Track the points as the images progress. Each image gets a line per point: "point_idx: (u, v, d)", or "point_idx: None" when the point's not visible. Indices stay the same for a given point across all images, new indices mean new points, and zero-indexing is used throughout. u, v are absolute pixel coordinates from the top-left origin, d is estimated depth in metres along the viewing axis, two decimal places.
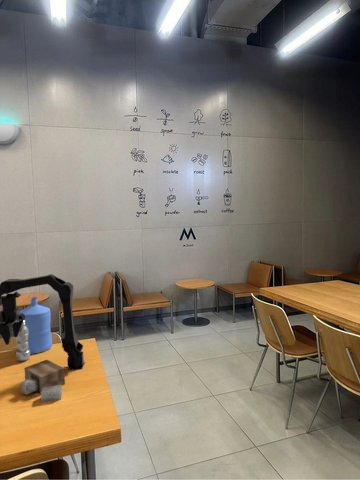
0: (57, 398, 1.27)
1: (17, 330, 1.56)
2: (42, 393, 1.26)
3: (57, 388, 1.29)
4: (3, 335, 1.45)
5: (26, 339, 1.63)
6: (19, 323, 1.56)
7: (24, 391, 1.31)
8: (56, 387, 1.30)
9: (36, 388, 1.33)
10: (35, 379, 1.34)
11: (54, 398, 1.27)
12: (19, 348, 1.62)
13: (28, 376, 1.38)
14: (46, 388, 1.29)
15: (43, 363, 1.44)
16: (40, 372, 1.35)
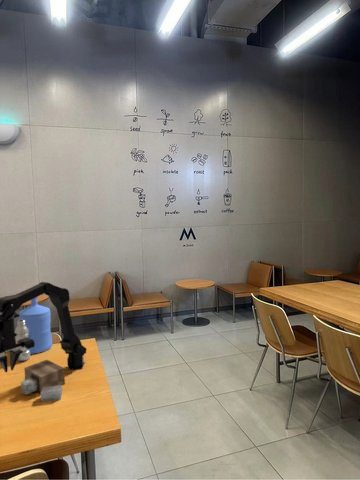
0: (57, 398, 1.27)
1: (12, 362, 1.26)
2: (42, 393, 1.26)
3: (57, 388, 1.29)
4: (0, 360, 1.25)
5: None
6: (14, 354, 1.26)
7: (24, 391, 1.31)
8: (56, 387, 1.30)
9: (36, 388, 1.33)
10: (35, 379, 1.34)
11: (54, 398, 1.27)
12: None
13: (28, 376, 1.38)
14: (46, 388, 1.29)
15: (43, 363, 1.44)
16: (40, 372, 1.35)
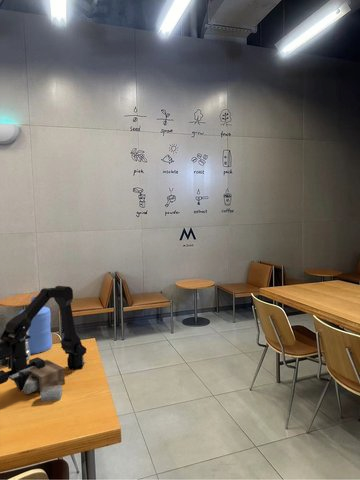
0: (56, 398, 1.27)
1: (21, 383, 1.29)
2: (42, 393, 1.26)
3: (56, 388, 1.29)
4: (14, 380, 1.29)
5: (26, 339, 1.63)
6: (23, 376, 1.29)
7: (25, 390, 1.31)
8: (56, 387, 1.29)
9: (37, 387, 1.33)
10: (36, 379, 1.34)
11: (53, 398, 1.27)
12: None
13: None
14: (46, 388, 1.29)
15: None
16: (40, 372, 1.35)
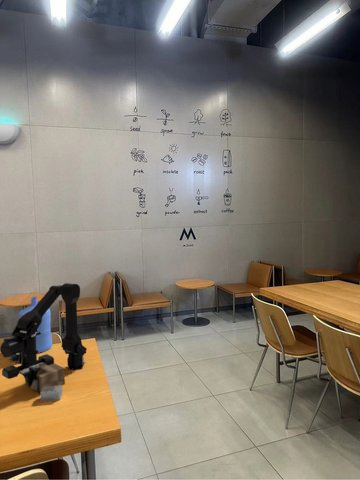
0: (56, 399, 1.27)
1: None
2: (41, 392, 1.26)
3: (56, 388, 1.28)
4: (24, 375, 1.32)
5: None
6: (32, 372, 1.32)
7: (34, 386, 1.34)
8: (56, 387, 1.29)
9: None
10: None
11: (53, 398, 1.27)
12: None
13: None
14: (46, 388, 1.29)
15: (43, 363, 1.44)
16: (40, 372, 1.35)
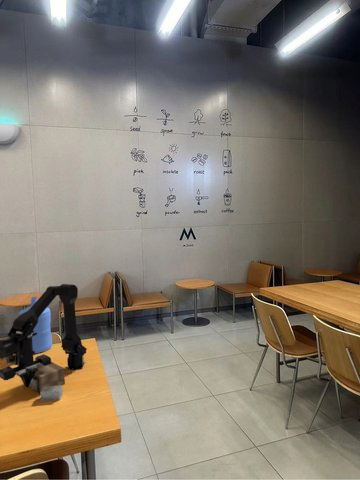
0: (56, 399, 1.27)
1: (28, 380, 1.31)
2: (41, 392, 1.26)
3: (56, 388, 1.28)
4: (21, 376, 1.31)
5: None
6: (30, 372, 1.31)
7: (34, 386, 1.34)
8: (56, 387, 1.29)
9: None
10: None
11: (53, 398, 1.27)
12: None
13: None
14: (47, 388, 1.29)
15: None
16: (40, 372, 1.35)
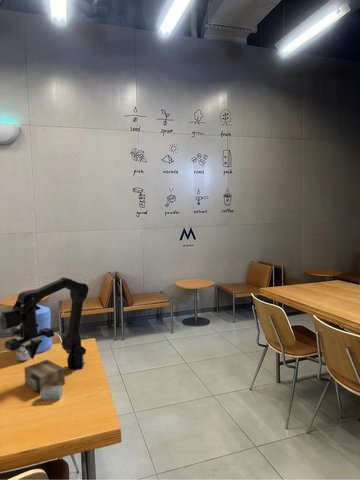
0: (56, 399, 1.27)
1: (33, 351, 1.38)
2: (41, 392, 1.26)
3: (56, 388, 1.28)
4: (26, 348, 1.38)
5: None
6: (34, 344, 1.38)
7: (34, 386, 1.34)
8: (56, 387, 1.29)
9: None
10: None
11: (53, 398, 1.27)
12: (19, 348, 1.62)
13: (28, 376, 1.38)
14: (47, 387, 1.29)
15: (43, 363, 1.44)
16: (40, 372, 1.35)
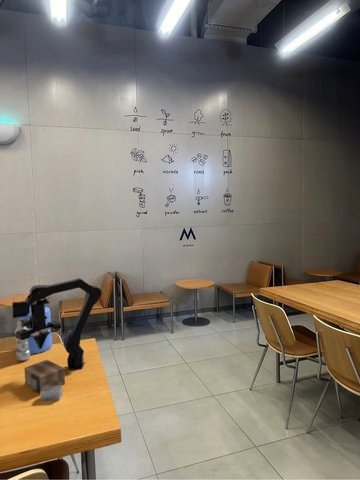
0: (56, 399, 1.27)
1: (41, 342, 1.47)
2: (41, 392, 1.27)
3: (56, 388, 1.28)
4: (35, 339, 1.47)
5: (26, 339, 1.63)
6: (43, 335, 1.47)
7: (34, 386, 1.34)
8: (56, 387, 1.29)
9: None
10: None
11: (53, 399, 1.27)
12: (19, 348, 1.62)
13: (28, 376, 1.38)
14: (47, 387, 1.29)
15: (43, 363, 1.44)
16: (40, 372, 1.35)
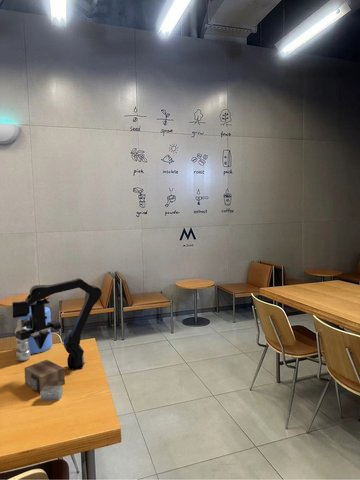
0: (55, 399, 1.27)
1: (41, 342, 1.47)
2: (41, 392, 1.27)
3: (56, 388, 1.28)
4: (35, 339, 1.47)
5: (26, 339, 1.63)
6: (43, 335, 1.47)
7: (34, 386, 1.34)
8: (56, 387, 1.29)
9: None
10: None
11: (52, 399, 1.27)
12: (19, 348, 1.62)
13: (28, 376, 1.38)
14: (47, 387, 1.29)
15: (43, 363, 1.44)
16: (40, 372, 1.35)
